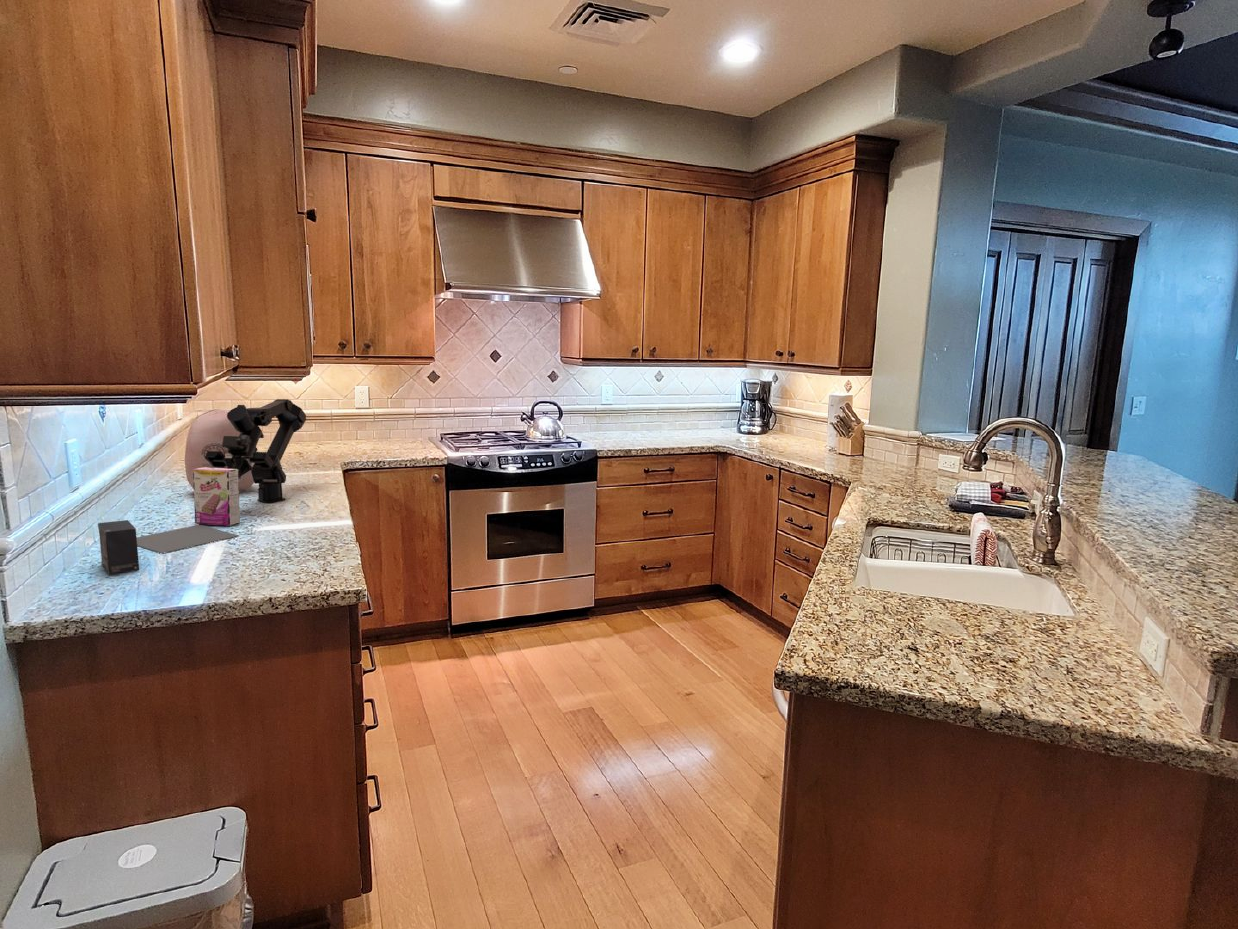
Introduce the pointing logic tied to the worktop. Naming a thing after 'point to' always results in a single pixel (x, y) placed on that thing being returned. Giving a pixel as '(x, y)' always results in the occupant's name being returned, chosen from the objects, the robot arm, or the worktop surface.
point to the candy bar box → (216, 496)
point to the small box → (118, 546)
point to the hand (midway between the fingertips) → (230, 482)
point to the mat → (182, 538)
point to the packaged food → (210, 444)
